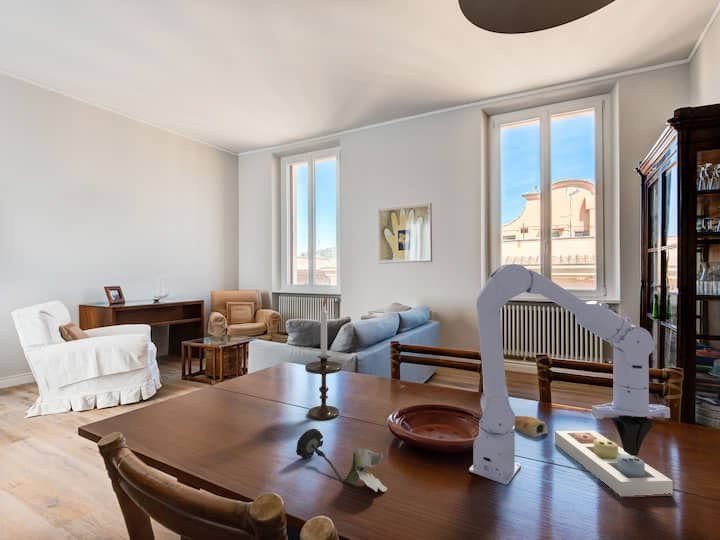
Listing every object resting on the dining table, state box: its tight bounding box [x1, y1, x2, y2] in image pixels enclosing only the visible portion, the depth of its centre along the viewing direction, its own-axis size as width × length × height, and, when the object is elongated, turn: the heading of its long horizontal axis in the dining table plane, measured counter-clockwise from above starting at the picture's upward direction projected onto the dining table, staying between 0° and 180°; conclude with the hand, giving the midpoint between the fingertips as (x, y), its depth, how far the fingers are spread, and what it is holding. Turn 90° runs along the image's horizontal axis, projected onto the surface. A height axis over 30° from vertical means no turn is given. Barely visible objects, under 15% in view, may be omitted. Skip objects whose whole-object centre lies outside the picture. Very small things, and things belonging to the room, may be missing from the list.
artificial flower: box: [295, 428, 388, 493], centre depth 77 cm, size 9×22×10 cm, turn 42°
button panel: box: [554, 430, 674, 496], centre depth 80 cm, size 22×10×3 cm, turn 2°
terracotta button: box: [574, 433, 596, 444], centre depth 87 cm, size 4×4×3 cm
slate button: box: [617, 454, 645, 478], centre depth 73 cm, size 4×4×3 cm
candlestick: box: [305, 296, 343, 421], centre depth 110 cm, size 11×11×35 cm
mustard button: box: [594, 439, 619, 459], centre depth 80 cm, size 4×4×3 cm
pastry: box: [514, 415, 549, 438], centre depth 99 cm, size 9×7×4 cm
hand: (630, 453), depth 73 cm, fingers closed
